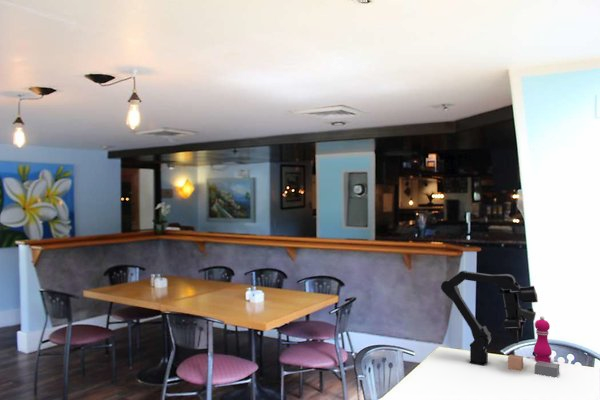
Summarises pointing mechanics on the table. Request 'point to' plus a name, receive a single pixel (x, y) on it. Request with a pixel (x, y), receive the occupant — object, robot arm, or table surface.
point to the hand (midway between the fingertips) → (518, 340)
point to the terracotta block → (515, 362)
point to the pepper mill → (542, 341)
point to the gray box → (547, 369)
